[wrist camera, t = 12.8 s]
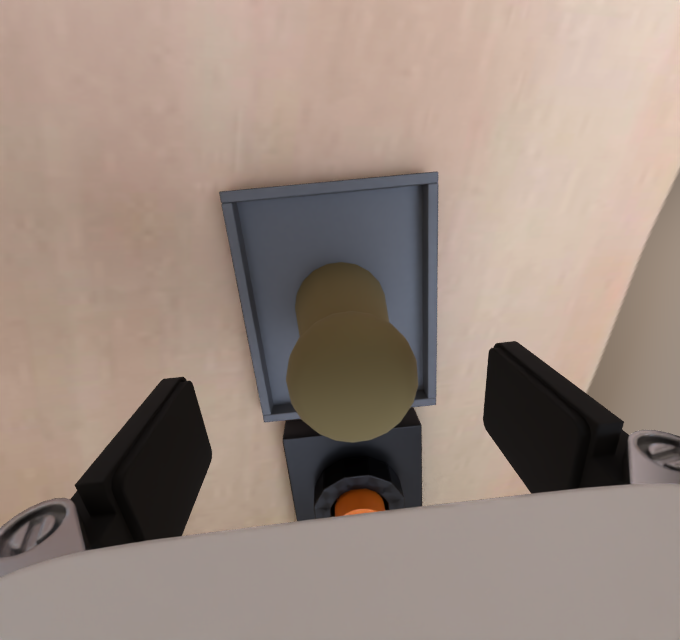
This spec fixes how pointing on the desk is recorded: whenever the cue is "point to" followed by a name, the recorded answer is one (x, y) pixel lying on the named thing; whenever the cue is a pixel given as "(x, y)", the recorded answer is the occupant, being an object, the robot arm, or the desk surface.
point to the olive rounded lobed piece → (349, 357)
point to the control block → (353, 467)
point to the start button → (358, 502)
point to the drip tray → (332, 247)
